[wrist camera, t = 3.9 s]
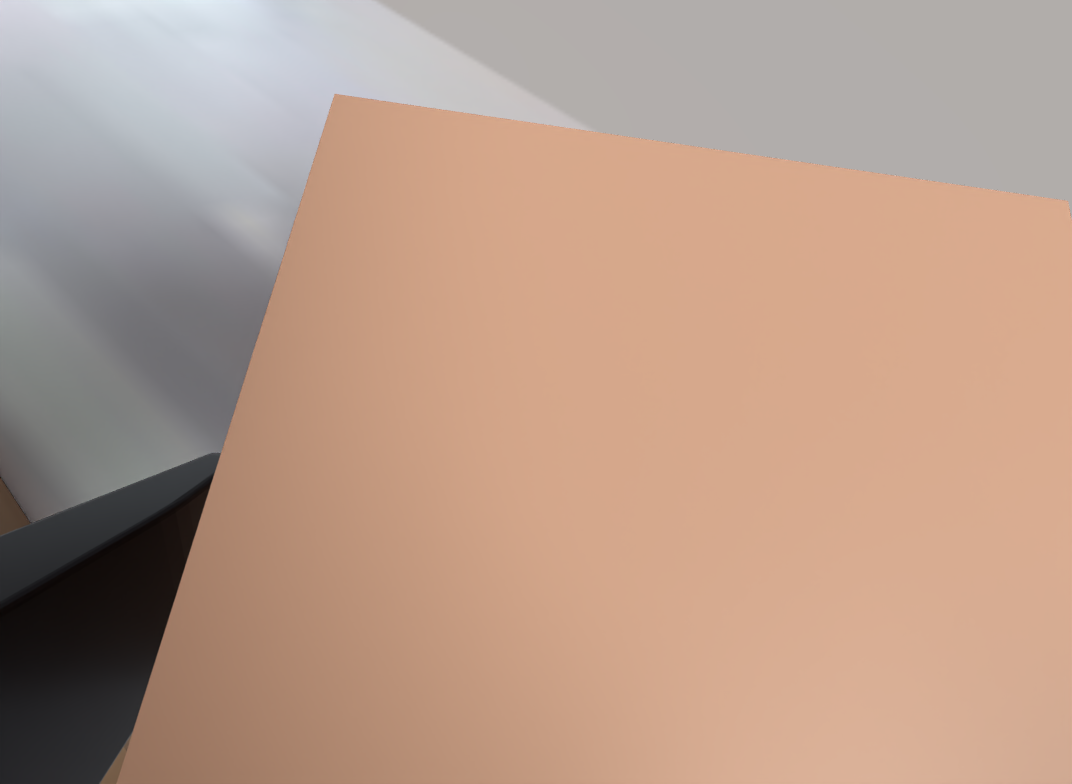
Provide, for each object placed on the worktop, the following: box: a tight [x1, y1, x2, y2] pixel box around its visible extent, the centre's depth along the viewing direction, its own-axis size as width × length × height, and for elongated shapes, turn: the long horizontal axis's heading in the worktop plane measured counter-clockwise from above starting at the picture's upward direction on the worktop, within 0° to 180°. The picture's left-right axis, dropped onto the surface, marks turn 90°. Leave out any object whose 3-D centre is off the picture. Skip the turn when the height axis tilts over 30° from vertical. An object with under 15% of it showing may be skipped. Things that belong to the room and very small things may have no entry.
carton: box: [116, 94, 1072, 784], centre depth 9 cm, size 6×6×12 cm
